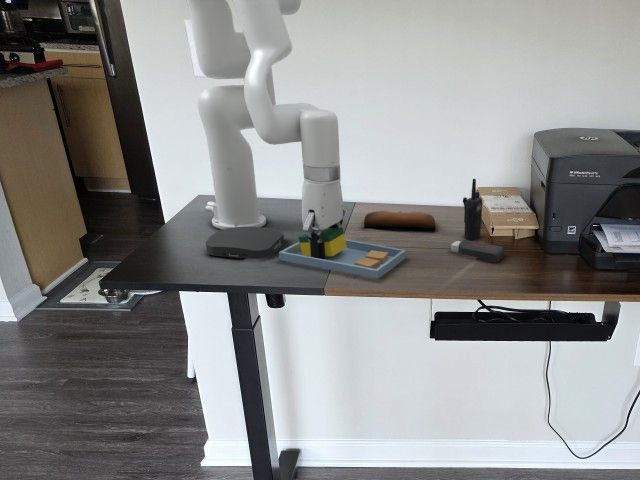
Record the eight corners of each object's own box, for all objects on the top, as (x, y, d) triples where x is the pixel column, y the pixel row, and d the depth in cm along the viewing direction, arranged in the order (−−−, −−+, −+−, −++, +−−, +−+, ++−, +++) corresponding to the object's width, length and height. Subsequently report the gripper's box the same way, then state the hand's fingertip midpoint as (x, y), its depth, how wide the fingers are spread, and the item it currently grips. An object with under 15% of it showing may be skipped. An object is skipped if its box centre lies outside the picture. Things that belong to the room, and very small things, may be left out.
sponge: (303, 257, 149) (298, 237, 147) (318, 248, 155) (313, 228, 153) (333, 256, 147) (328, 236, 145) (347, 247, 152) (342, 227, 150)
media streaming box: (228, 235, 159) (226, 222, 158) (289, 240, 159) (288, 228, 158) (200, 256, 147) (198, 243, 145) (267, 262, 147) (265, 249, 145)
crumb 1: (354, 268, 145) (354, 262, 145) (364, 263, 149) (364, 257, 148) (370, 272, 144) (369, 266, 143) (380, 266, 147) (380, 260, 147)
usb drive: (496, 263, 156) (497, 251, 155) (449, 254, 159) (449, 242, 158) (504, 256, 160) (505, 245, 159) (457, 247, 163) (458, 236, 162)
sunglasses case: (433, 220, 179) (434, 202, 174) (434, 240, 176) (435, 223, 170) (364, 218, 177) (363, 200, 171) (364, 239, 173) (363, 221, 168)
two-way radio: (473, 241, 168) (476, 180, 161) (457, 238, 170) (459, 178, 162) (482, 235, 173) (485, 176, 165) (466, 232, 174) (469, 173, 167)
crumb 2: (365, 261, 149) (365, 255, 149) (371, 256, 153) (371, 250, 152) (382, 264, 149) (382, 258, 148) (388, 258, 152) (388, 252, 152)
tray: (280, 262, 147) (279, 252, 146) (315, 243, 159) (314, 233, 158) (377, 281, 142) (377, 270, 140) (406, 260, 154) (406, 250, 152)
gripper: (327, 162, 150) (331, 240, 159) (282, 178, 136) (290, 263, 144) (357, 167, 148) (360, 245, 157) (316, 184, 134) (321, 269, 143)
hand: (326, 253), depth 151 cm, fingers closed on sponge, 6 cm apart
